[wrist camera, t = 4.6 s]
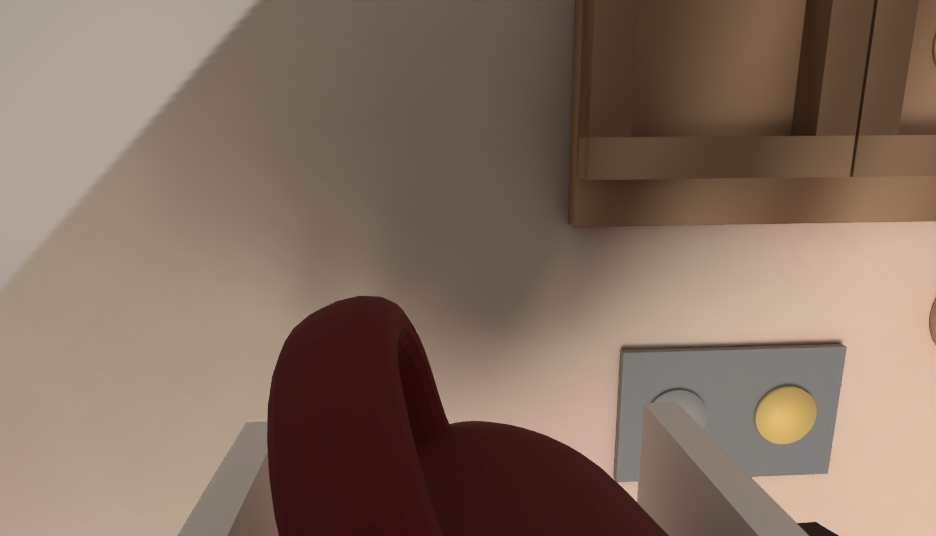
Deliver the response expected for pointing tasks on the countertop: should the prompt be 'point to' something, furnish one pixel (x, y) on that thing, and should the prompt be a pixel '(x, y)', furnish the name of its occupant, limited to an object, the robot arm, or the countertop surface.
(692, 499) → the robot arm
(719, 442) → the key tile
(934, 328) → the peg
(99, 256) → the countertop surface
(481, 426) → the mug
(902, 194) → the board
